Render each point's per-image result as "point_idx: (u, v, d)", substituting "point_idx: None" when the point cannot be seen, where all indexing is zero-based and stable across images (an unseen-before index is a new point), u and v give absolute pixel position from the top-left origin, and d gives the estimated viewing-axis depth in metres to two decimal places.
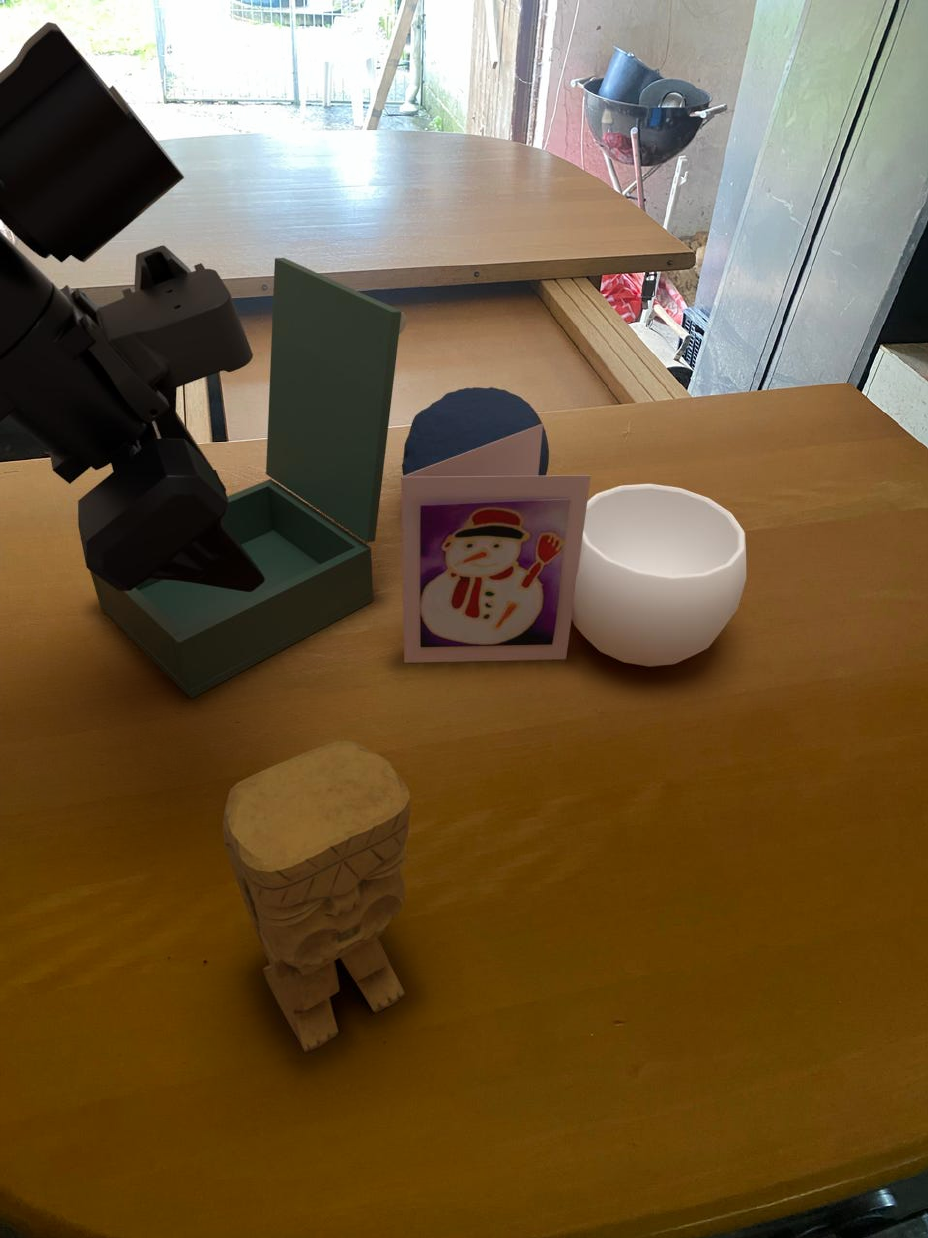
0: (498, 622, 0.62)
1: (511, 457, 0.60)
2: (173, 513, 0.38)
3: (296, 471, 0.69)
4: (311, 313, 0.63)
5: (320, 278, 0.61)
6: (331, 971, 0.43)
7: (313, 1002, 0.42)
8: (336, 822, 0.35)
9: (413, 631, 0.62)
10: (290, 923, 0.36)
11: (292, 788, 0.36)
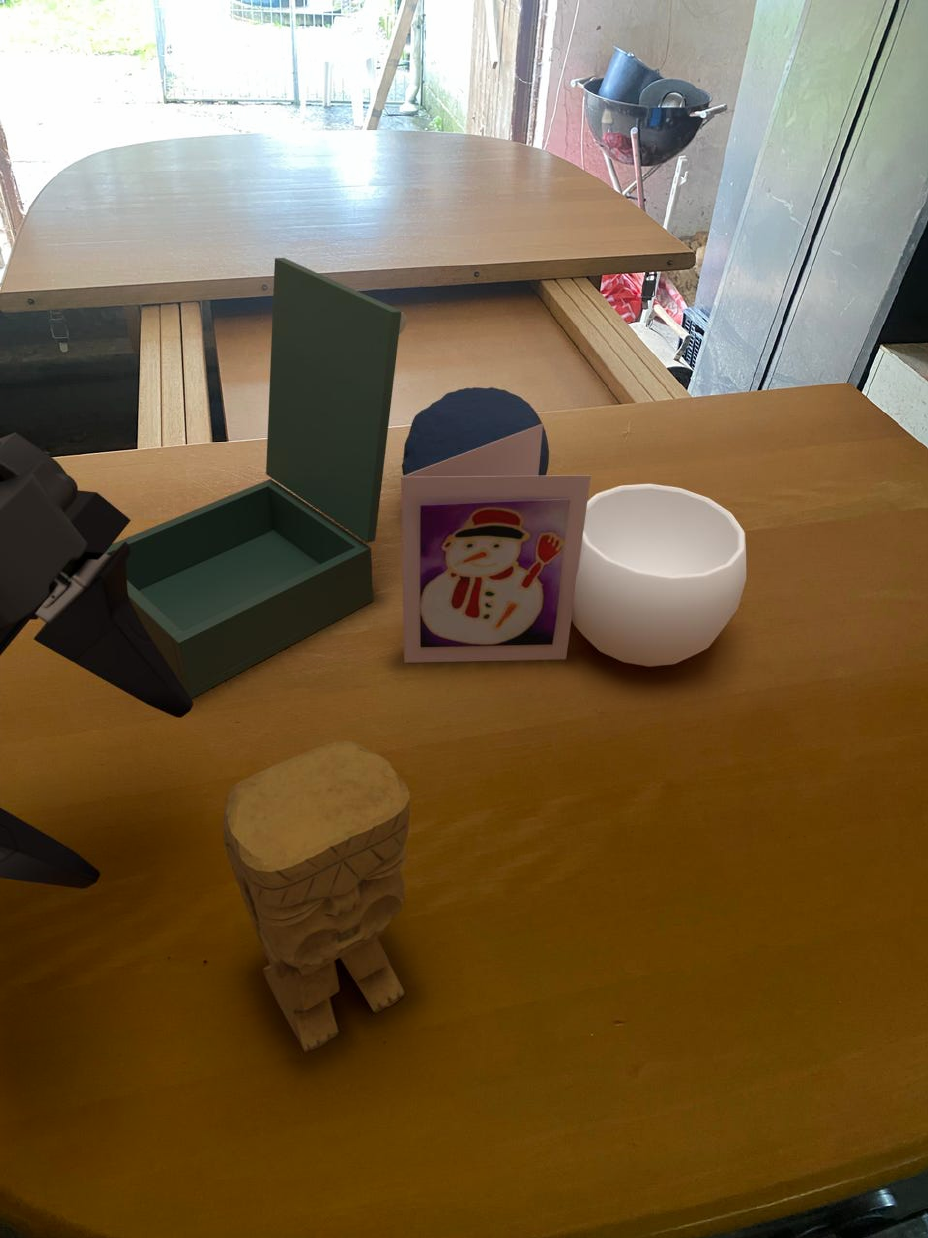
0: (498, 622, 0.62)
1: (511, 457, 0.60)
2: None
3: (296, 471, 0.69)
4: (311, 313, 0.63)
5: (320, 278, 0.61)
6: (331, 971, 0.43)
7: (313, 1002, 0.42)
8: (336, 823, 0.35)
9: (413, 631, 0.62)
10: (290, 923, 0.36)
11: (292, 788, 0.36)
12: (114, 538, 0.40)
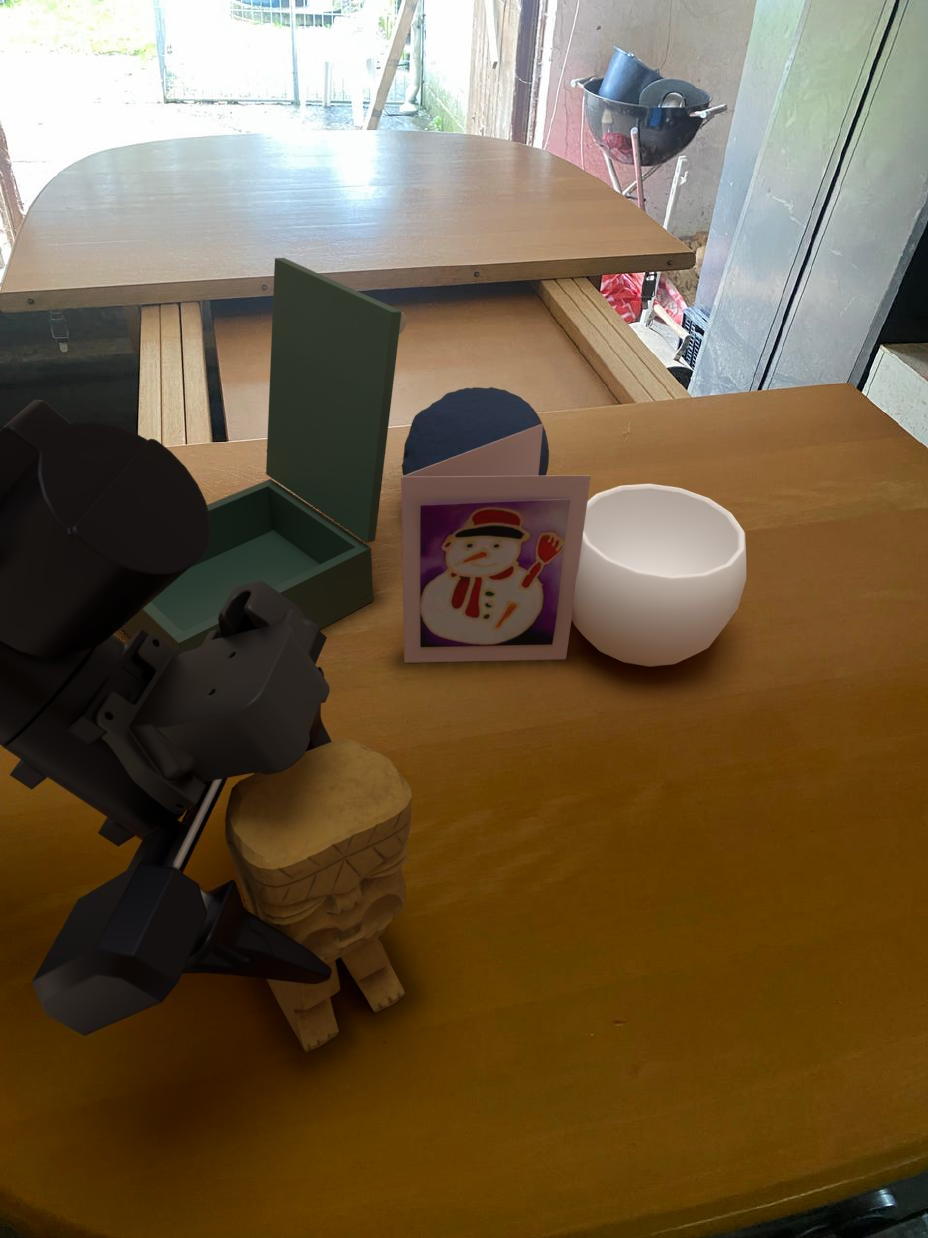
0: (498, 622, 0.62)
1: (511, 456, 0.60)
2: (103, 989, 0.30)
3: (296, 471, 0.69)
4: (311, 313, 0.63)
5: (320, 278, 0.61)
6: (332, 970, 0.43)
7: (314, 1001, 0.42)
8: (338, 820, 0.35)
9: (413, 631, 0.62)
10: (292, 921, 0.36)
11: (295, 786, 0.36)
12: (316, 657, 0.42)
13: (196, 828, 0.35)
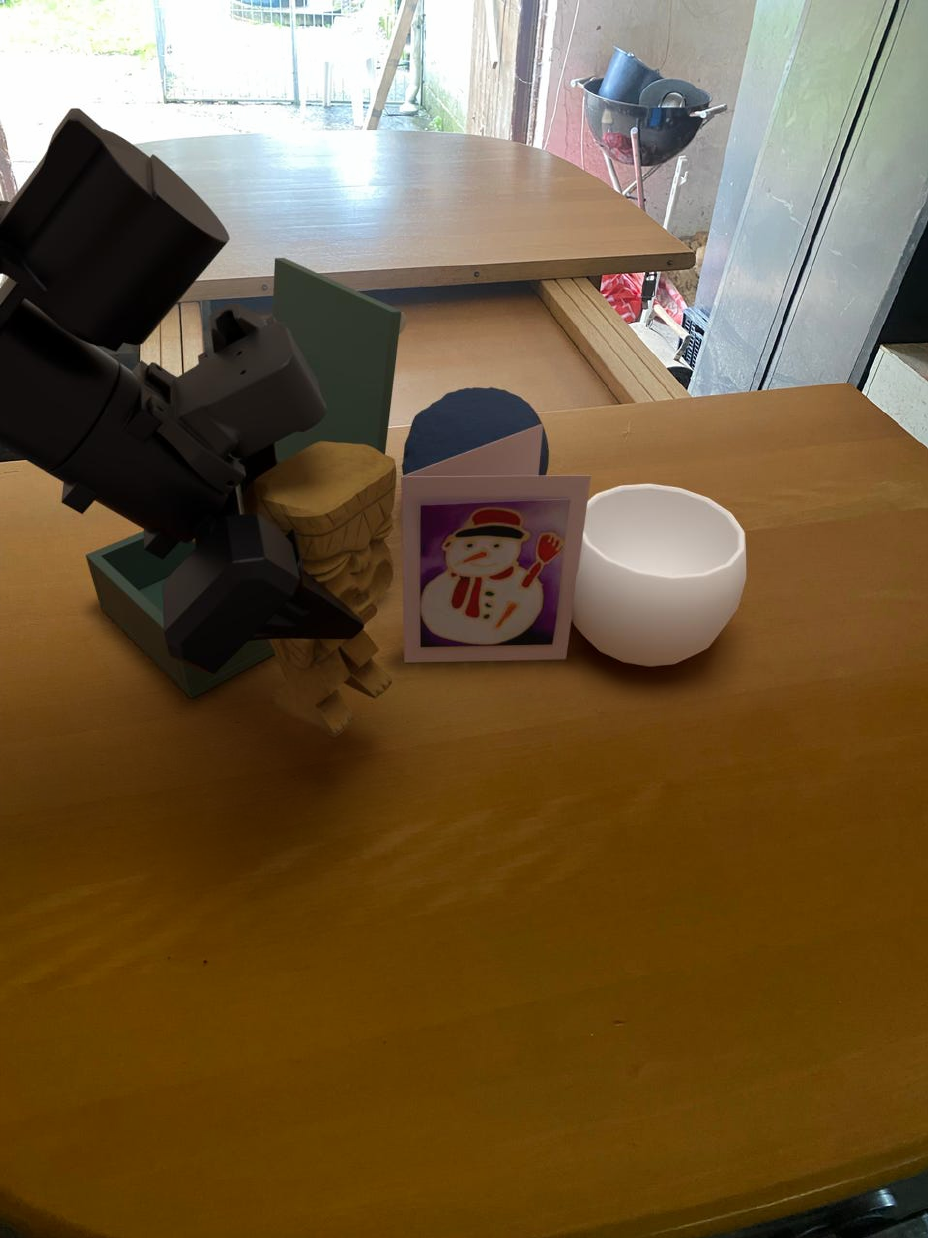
0: (498, 622, 0.62)
1: (511, 456, 0.60)
2: (243, 598, 0.37)
3: None
4: (311, 313, 0.63)
5: (320, 278, 0.61)
6: (340, 661, 0.51)
7: (334, 686, 0.50)
8: (351, 480, 0.44)
9: (413, 631, 0.62)
10: (331, 576, 0.44)
11: (302, 470, 0.44)
12: None
13: (242, 507, 0.42)
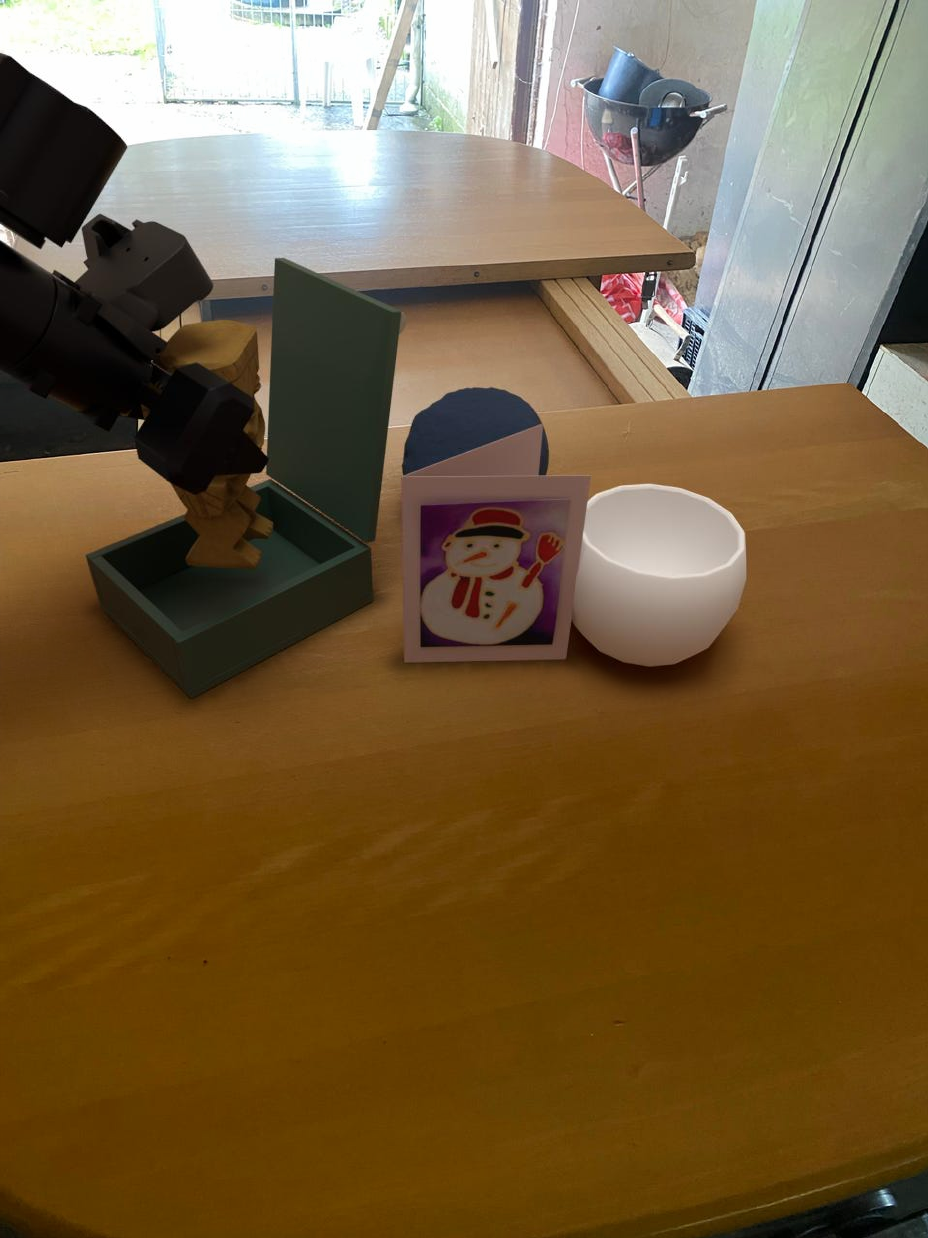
0: (498, 622, 0.62)
1: (511, 456, 0.60)
2: (222, 418, 0.48)
3: (296, 471, 0.69)
4: (311, 313, 0.63)
5: (320, 278, 0.61)
6: (240, 507, 0.62)
7: (245, 526, 0.62)
8: (233, 341, 0.56)
9: (413, 631, 0.62)
10: None
11: (191, 342, 0.55)
12: None
13: None
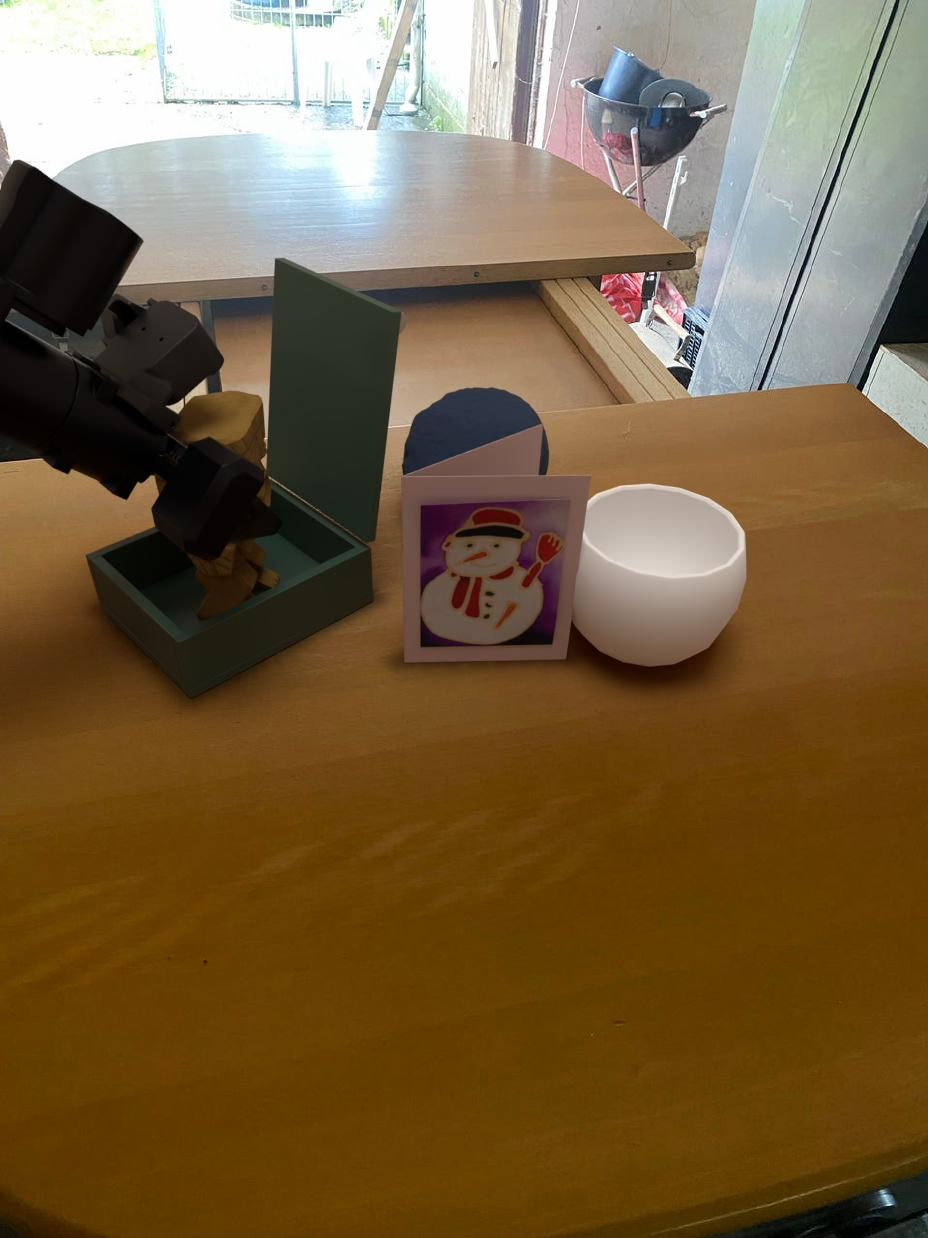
0: (498, 622, 0.62)
1: (511, 456, 0.60)
2: (234, 491, 0.51)
3: (296, 471, 0.69)
4: (311, 313, 0.63)
5: (320, 278, 0.61)
6: (248, 565, 0.65)
7: (253, 583, 0.65)
8: (241, 414, 0.58)
9: (413, 631, 0.62)
10: None
11: (201, 416, 0.58)
12: None
13: None
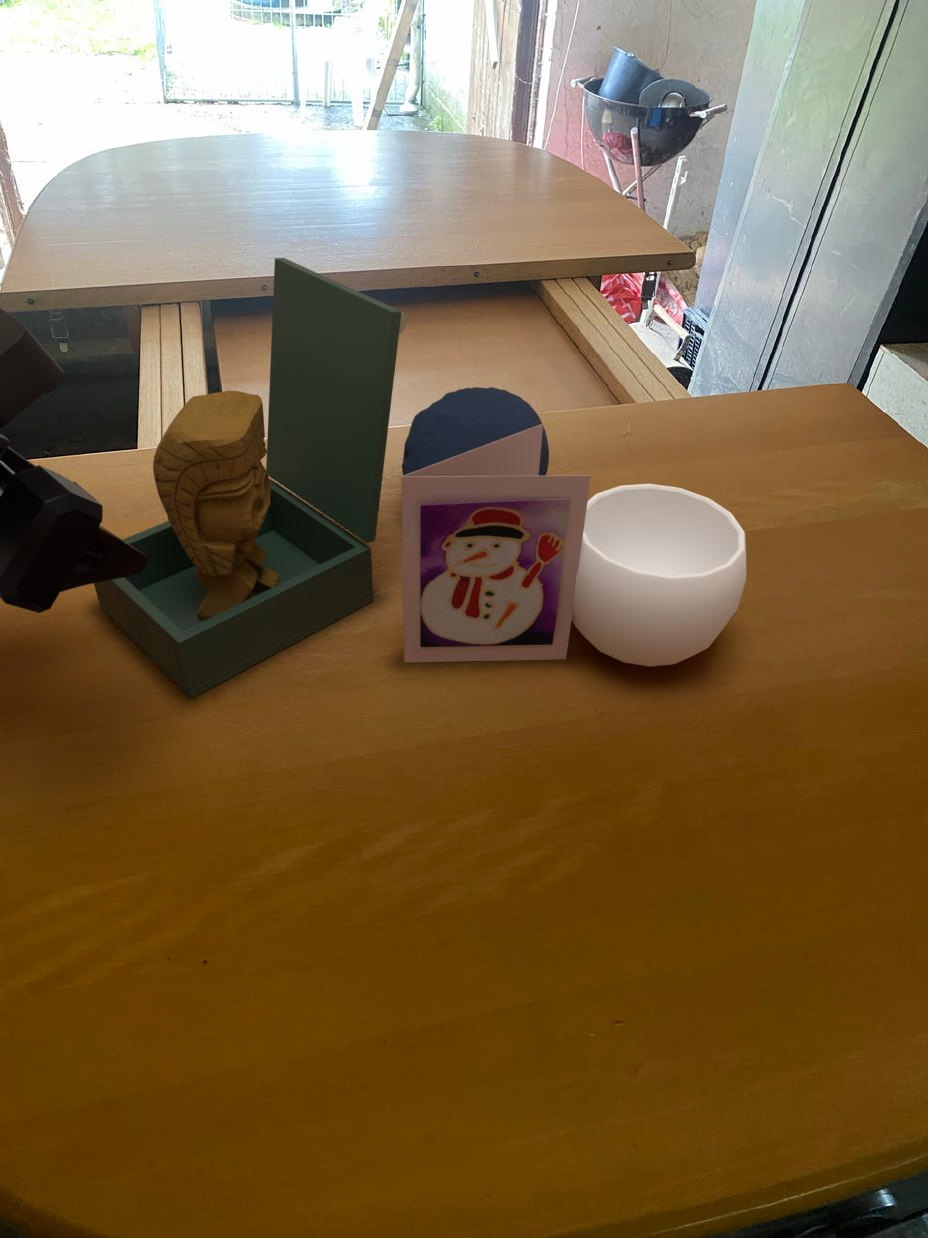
0: (498, 622, 0.62)
1: (511, 456, 0.60)
2: (62, 531, 0.43)
3: (296, 471, 0.69)
4: (311, 313, 0.63)
5: (320, 278, 0.61)
6: (247, 565, 0.65)
7: (253, 583, 0.65)
8: (240, 414, 0.58)
9: (413, 631, 0.62)
10: (248, 487, 0.59)
11: (200, 416, 0.58)
12: None
13: (12, 471, 0.47)
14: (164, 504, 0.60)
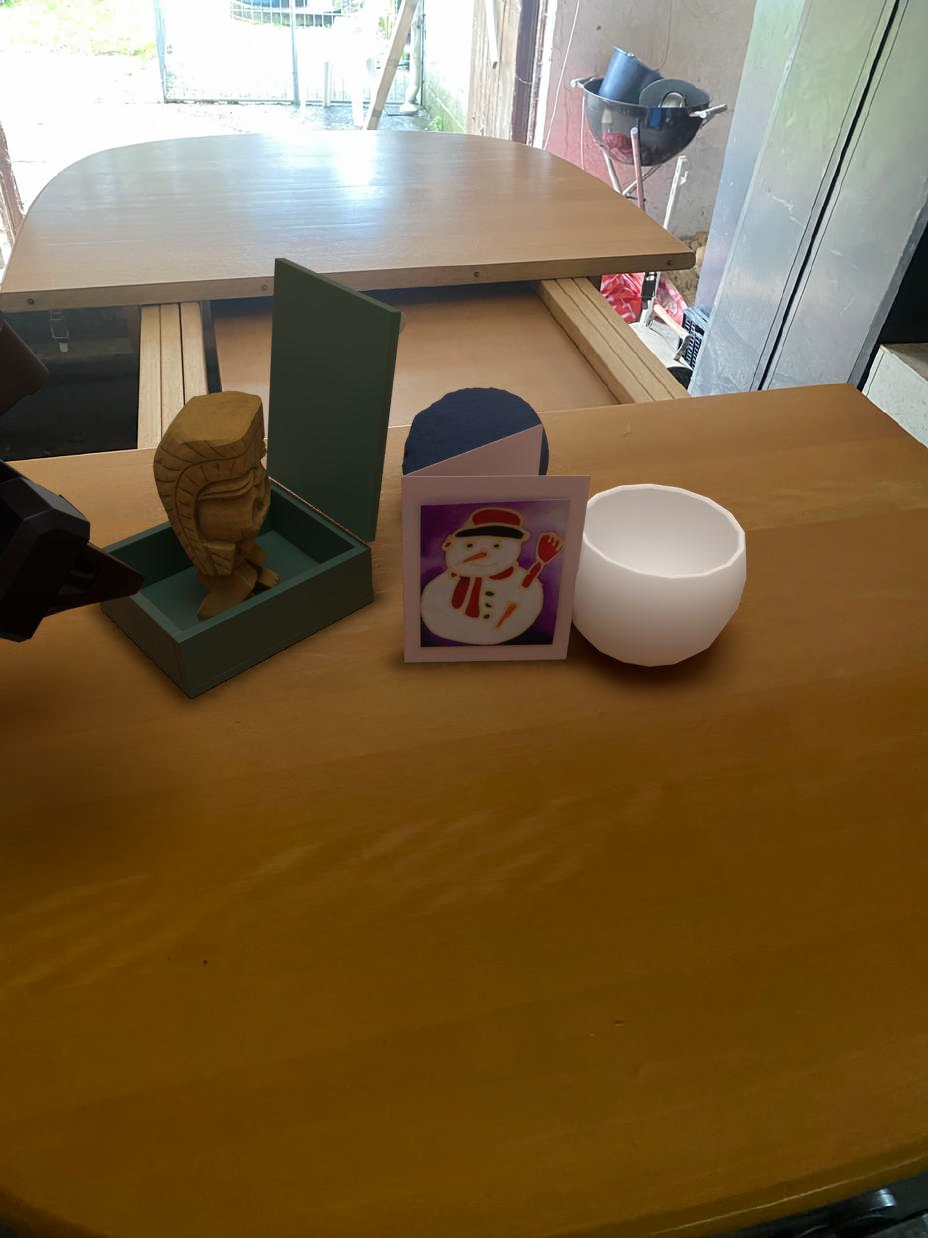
0: (498, 622, 0.62)
1: (511, 456, 0.60)
2: (44, 552, 0.38)
3: (296, 471, 0.69)
4: (311, 313, 0.63)
5: (320, 278, 0.61)
6: (247, 565, 0.65)
7: (253, 583, 0.65)
8: (240, 414, 0.58)
9: (413, 631, 0.62)
10: (248, 487, 0.59)
11: (200, 416, 0.58)
12: None
13: None
14: (164, 504, 0.60)
